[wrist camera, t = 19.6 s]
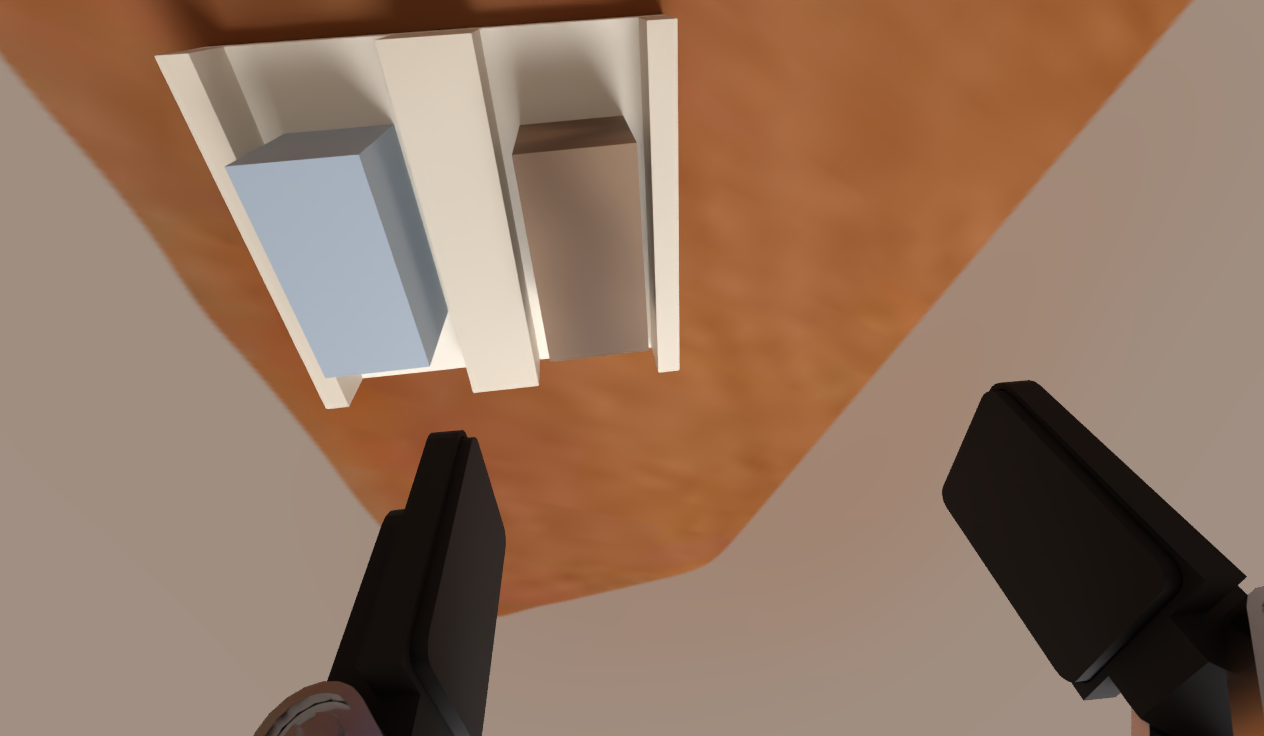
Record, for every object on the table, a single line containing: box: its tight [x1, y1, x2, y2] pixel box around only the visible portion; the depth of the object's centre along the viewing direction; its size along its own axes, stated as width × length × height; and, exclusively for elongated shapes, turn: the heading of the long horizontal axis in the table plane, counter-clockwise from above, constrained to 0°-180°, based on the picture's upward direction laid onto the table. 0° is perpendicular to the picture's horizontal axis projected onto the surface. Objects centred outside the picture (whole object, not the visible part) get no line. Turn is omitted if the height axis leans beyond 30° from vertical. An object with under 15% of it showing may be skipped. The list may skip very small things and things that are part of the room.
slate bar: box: [225, 124, 448, 378], centre depth 21 cm, size 4×8×4 cm, turn 4°
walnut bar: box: [512, 115, 649, 362], centre depth 22 cm, size 4×8×4 cm, turn 4°
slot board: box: [155, 14, 679, 409], centre depth 23 cm, size 16×14×3 cm
